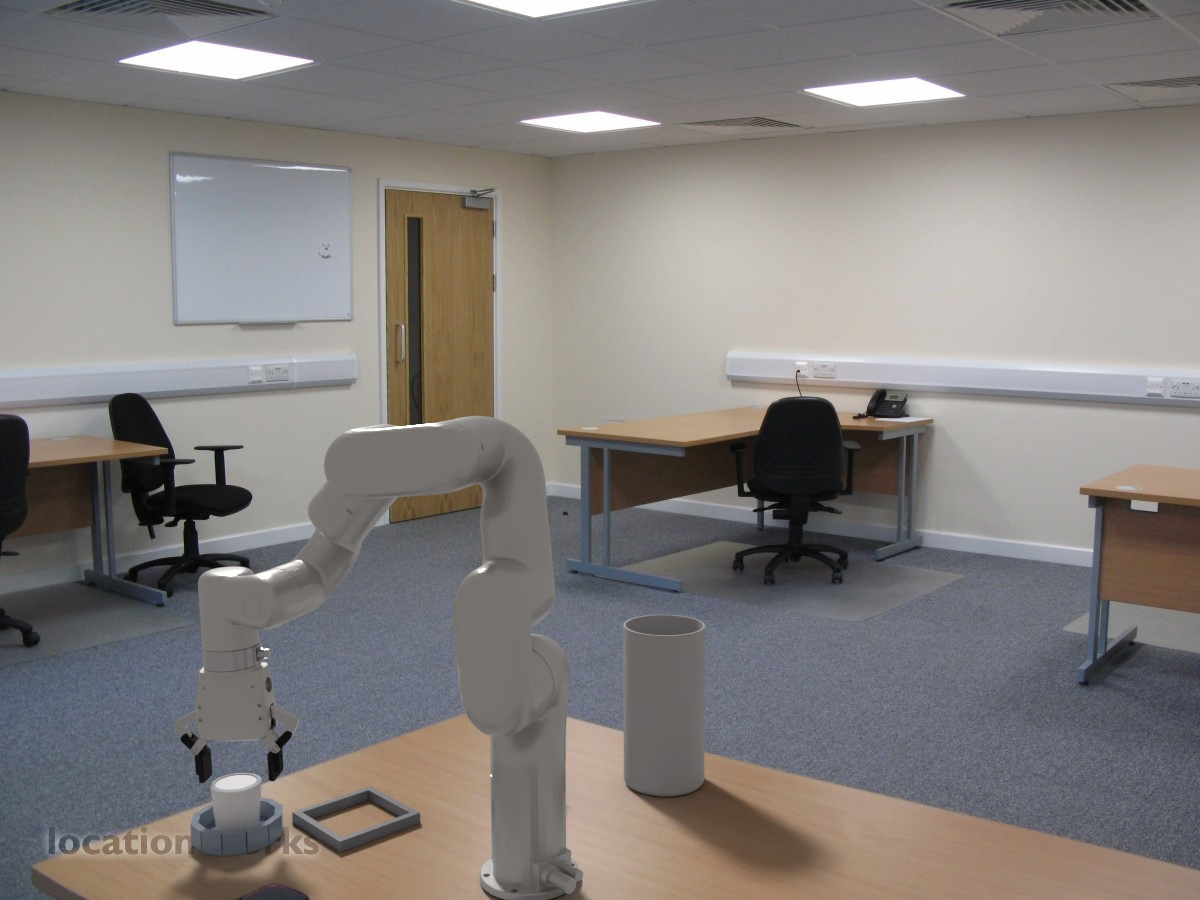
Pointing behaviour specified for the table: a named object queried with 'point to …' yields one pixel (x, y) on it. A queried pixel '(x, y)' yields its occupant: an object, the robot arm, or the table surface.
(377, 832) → the grey square frame
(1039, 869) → the table surface
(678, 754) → the cylinder vase
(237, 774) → the white cup
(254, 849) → the bowl
